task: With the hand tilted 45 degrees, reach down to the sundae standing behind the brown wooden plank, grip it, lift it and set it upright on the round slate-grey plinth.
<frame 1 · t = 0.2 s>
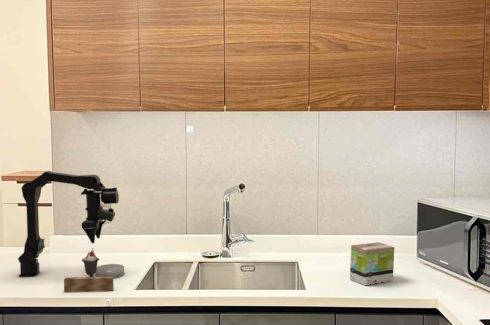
hand: (95, 240, 203), 14 cm above the worktop, tool pointing down, fingers open, 9 cm apart
sundae: (91, 284, 190), on the worktop
tea box: (371, 281, 197), on the worktop
slate plinth: (109, 274, 202), on the worktop
brown wooden plank: (89, 290, 182), on the worktop
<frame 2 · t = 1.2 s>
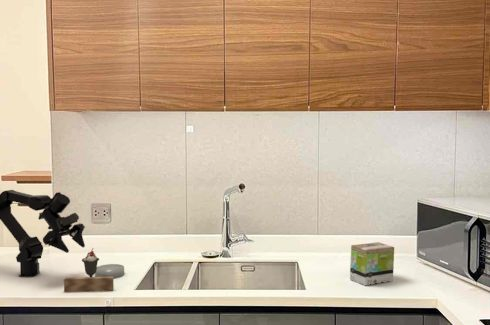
hand: (76, 249, 192), 13 cm above the worktop, tool tilted 45°, fingers open, 9 cm apart
nothing on the worktop moved.
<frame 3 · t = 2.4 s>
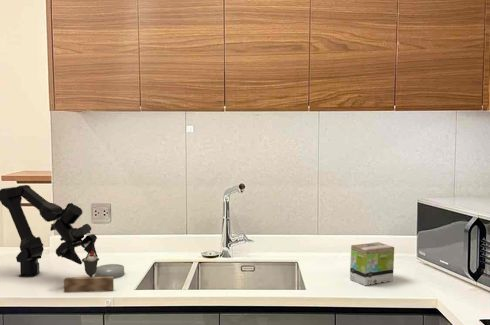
hand: (89, 260, 190), 9 cm above the worktop, tool tilted 45°, fingers open, 9 cm apart
nothing on the worktop moved.
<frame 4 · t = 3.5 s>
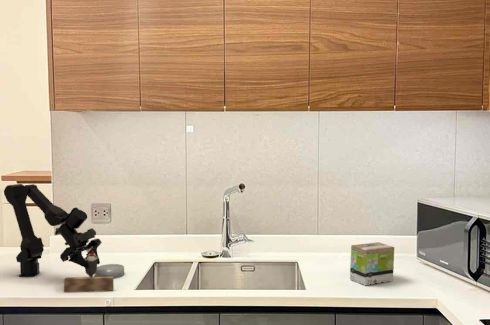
hand: (93, 265, 189), 8 cm above the worktop, tool tilted 45°, fingers closed on sundae, 6 cm apart
sundae: (91, 284, 190), on the worktop, touching gripper
everything else where it was.
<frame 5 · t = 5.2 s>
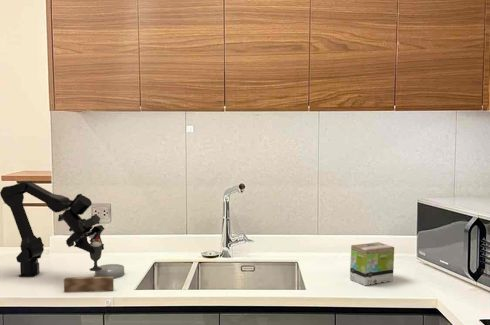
hand: (98, 251, 191), 13 cm above the worktop, tool tilted 45°, fingers closed on sundae, 6 cm apart
sundae: (95, 269, 192), point 5 cm above the worktop, touching gripper
everything else where it was.
when the fingers open (12 cm above the worktop, at t = 6.8 s): sundae drops 1 cm, resting on slate plinth.
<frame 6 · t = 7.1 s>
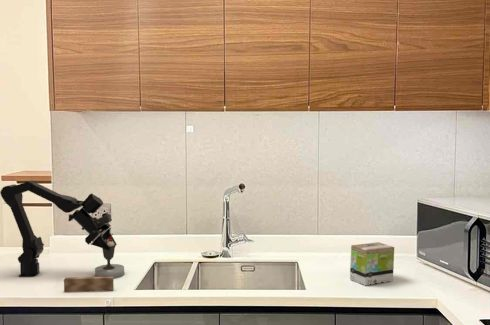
hand: (112, 247, 202), 12 cm above the worktop, tool tilted 45°, fingers open, 9 cm apart
sundae: (108, 268, 202), point 3 cm above the worktop, touching slate plinth
everything else where it was.
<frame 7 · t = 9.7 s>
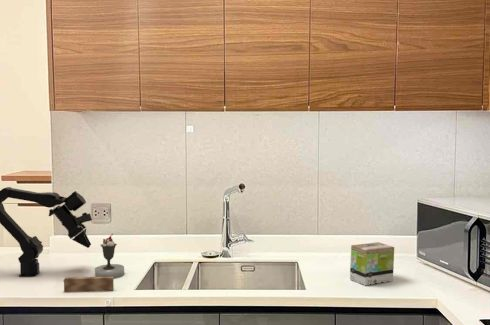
hand: (89, 246, 204), 12 cm above the worktop, tool tilted 35°, fingers open, 9 cm apart
nothing on the worktop moved.
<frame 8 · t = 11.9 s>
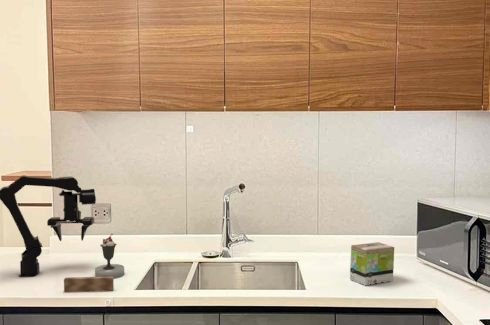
hand: (71, 240, 209), 13 cm above the worktop, tool pointing down, fingers open, 9 cm apart
nothing on the worktop moved.
at the end: sundae 0.3 cm off-centre on the slate plinth, point 2.8 cm above the slate plinth's base; sundae tilted 0°; the gripper is holding nothing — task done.
